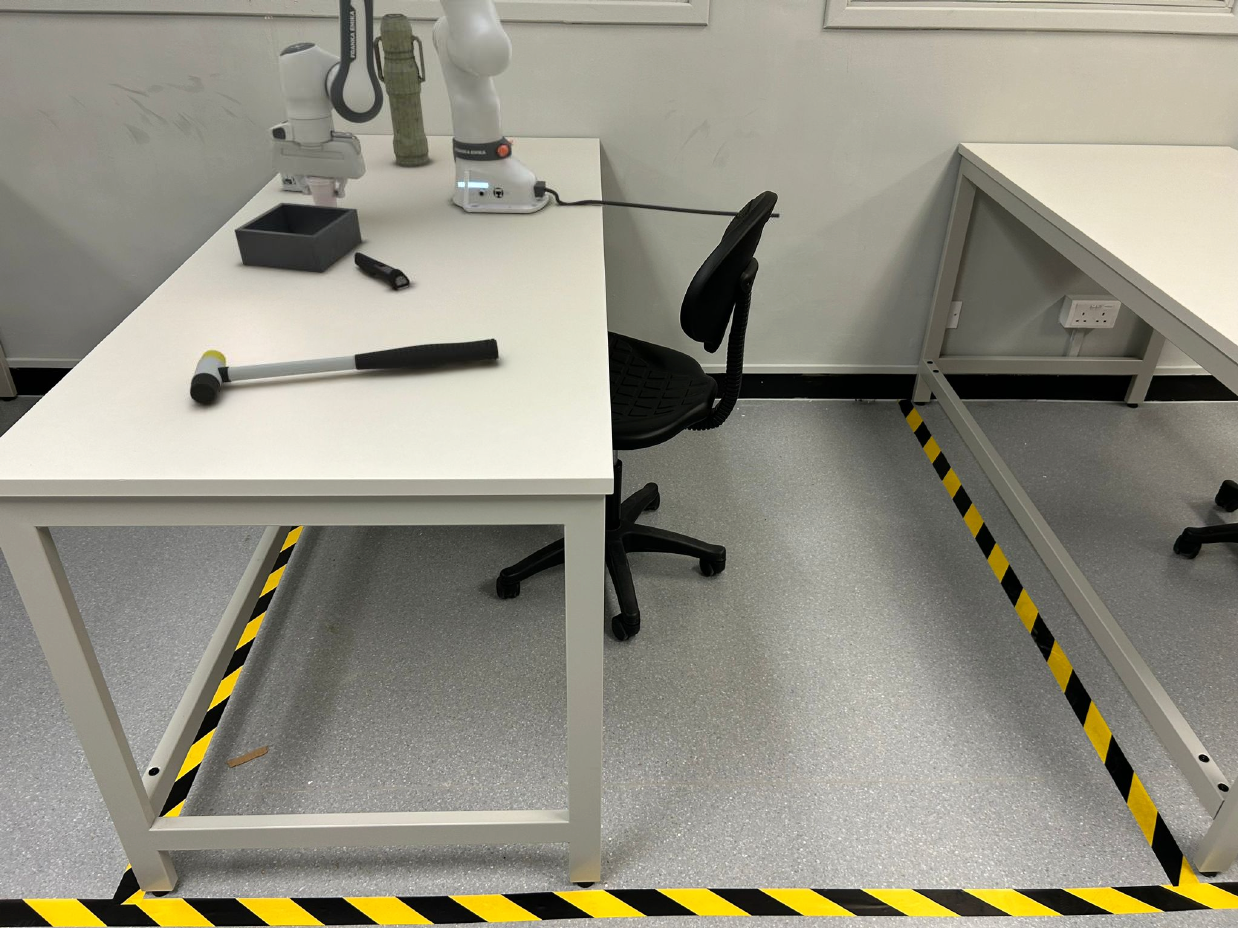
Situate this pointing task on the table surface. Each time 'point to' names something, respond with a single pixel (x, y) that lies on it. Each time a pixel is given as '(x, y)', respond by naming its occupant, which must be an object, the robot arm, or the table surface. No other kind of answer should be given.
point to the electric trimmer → (382, 271)
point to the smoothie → (323, 190)
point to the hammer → (336, 364)
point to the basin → (299, 237)
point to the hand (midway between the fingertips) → (324, 196)
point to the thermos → (403, 88)
